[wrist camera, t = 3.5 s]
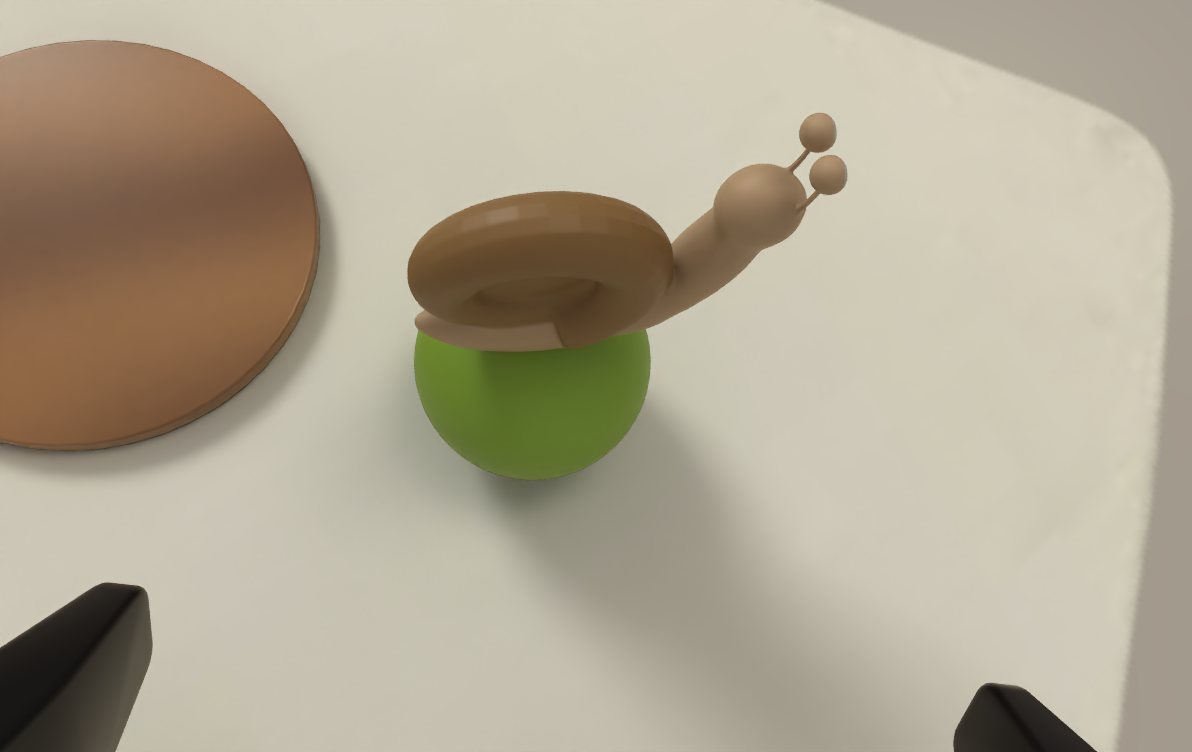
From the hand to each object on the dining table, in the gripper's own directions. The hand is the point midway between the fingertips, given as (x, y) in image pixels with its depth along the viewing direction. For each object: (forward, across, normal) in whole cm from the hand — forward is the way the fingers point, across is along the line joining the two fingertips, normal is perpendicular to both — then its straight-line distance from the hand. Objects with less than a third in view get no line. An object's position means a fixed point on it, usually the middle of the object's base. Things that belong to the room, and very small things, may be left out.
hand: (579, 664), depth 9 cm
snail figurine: (+13, 0, +4) cm, 14 cm away
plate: (+15, +12, +3) cm, 19 cm away
